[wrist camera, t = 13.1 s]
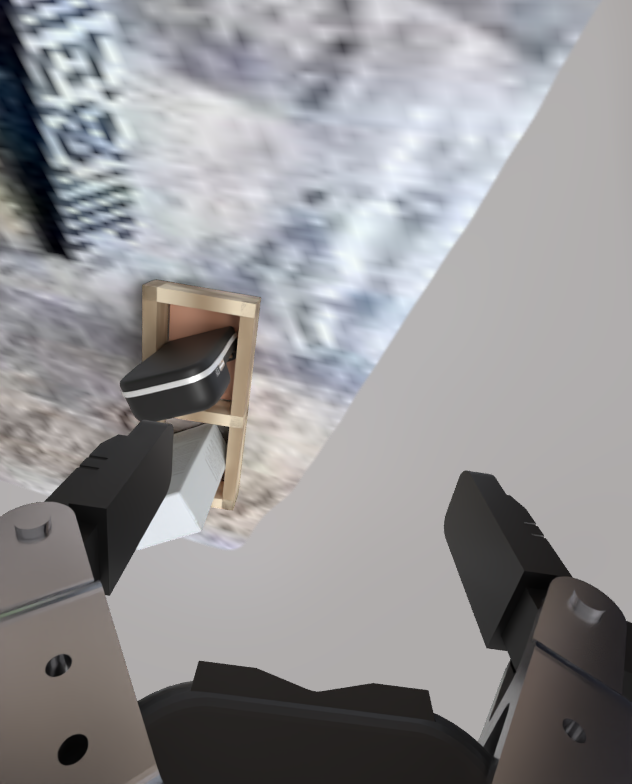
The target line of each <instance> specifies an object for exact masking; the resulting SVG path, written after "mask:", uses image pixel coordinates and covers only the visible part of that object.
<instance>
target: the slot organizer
mask: <svg viewBox="0 0 632 784" xmlns="http://www.w3.org/2000/svg"><path fill="white" fill-rule="evenodd" d="M260 302H261V297H255V296H249V295H243V294H237V293H232V292H226V291H220V290H214V289H208V288H202V287H197V286H191V285H185V284H179V283H173V282H168V281H162V280H153V281H151V282H148V283H146V284H143V285H142V362H143V361H144V360H146V359H147V358H148V357H150V356H151V355H152V354H154V353H155V352H156V351H158V350H159V349H160V348H161V347H162V346H164V345H165V344H166V343H167V342H168V316H169V304H170V320H169V341H172V340H176V339H180V338H184V337H188V336H192V335H196V334H200V333H204V332H208V331H212V330H216V329H220V328H224V327H228V326H232V327H233V328H234V330H235V332H236V333H237V339H238V344H237V354H236V359H234V360H232V361H229V362H227V367H228V370H229V374H230V384H229V385H228V387H227V389H226V391H225V393H224V394H223V396H222V397H221V398H220V399H226V400H232V401H226V400H219V401H218V402H217V403H216V404H215V405H214V406H212V407H211V408H209V409H207V410H204V411H200V412H196V413H192V414H188V415H184V416H179V417H175V418H177V419H183V420H190V421H196V422H202V423H209V424H215V425H222V426H228V427H229V436H228V447H227V457H226V467H225V477H224V481H220V483H219V486H218V489H217V491H216V494H215V496H214V499H213V502H212V504H211V507H213V508H219V509H226V510H233V509H234V506H235V502H236V499H237V496H238V493H239V484H240V475H241V467H242V458H243V449H244V441H245V432H246V423H247V414H248V406H249V397H250V388H251V380H252V371H253V362H254V354H255V345H256V336H257V328H258V319H259V310H260ZM157 422H162V423H165V420H161V421H157Z"/></svg>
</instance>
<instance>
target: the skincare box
mask: <svg viewBox="0 0 632 784" xmlns="http://www.w3.org/2000/svg"><path fill="white" fill-rule="evenodd" d="M227 447H228V446H227V444H226V442H225V440H224V438H223V436H222V434H221V432H220V430H219V428H218V426H217V425H215V424H209V423H206V424H203V425H200V426H197V427H194V428H191V429H188V430H185V431H182V432H179V433H176V434H173V459H172V477H171V482H170V486H169V489H168V492H167V494H166V496H165V498H164V500H163V502H162V504H161V505H160V507H159V509H158V511H157V513H156V514H155V516H154V518H153V520H152V521H151V523H150V525H149V527H148V529H147V530H146V532H145V534H144V536H143V537H142V539H141V541H140V543H139V545H138V546H137V548H136V549H137V550H141V549H144V548H147V547H151V546H154V545H157V544H161V543H164V542H167V541H171V540H174V539H177V538H181V537H184V536H188V535H191V534H194V533H198V532H201V531H202V528H203V526H204V523H205V520H206V518H207V515H208V512H209V510H210V507H211V504H212V502H213V499H214V496H215V494H216V491H217V489H218V486H219V483H220V481H221V478H222V475H223V473H224V470H225V467H226V457H227Z"/></svg>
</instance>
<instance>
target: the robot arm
mask: <svg viewBox="0 0 632 784" xmlns="http://www.w3.org/2000/svg"><path fill="white" fill-rule="evenodd" d="M172 459H173V426H172V424H168V423H162V422H155V421H149V420H142V421H141V422H140V423H139V424H138V425H137V426H136V427H135V429H134V430H133V431H132V432H131V433H130V434H129V435H128V436H124V435H117V436H115V437H113V438H111V439H109V440H107V441H105V442H103V443H101V444H100V445H99V446H98V447H97V448H96V449H95V450H94V451H93V452H92V453H91V454H90V455H89V458H86V459H85V460H84V461H83V462H82V463H81V464H80V467H79V468H76V470H75V471H74V472H73V473H72V474H71V475H70V476H69V477H68V478H67V479H66V480H65V481H64V482H63V483H62V484H61V485H60V486H59V487H58V488H57V489H56V490H55V491H54V492H53V493H52V494H51V495H50V496H49V497H48V498H47V499H46V500H45V501H44V502H36V503H31V504H27V505H23V506H20V507H18V508H15V509H13V510H11V511H8V512H7V513H5V514H3V515H2V516H1V517H0V784H632V623H630V622H628V621H626V619H625V616H624V615H623V613H622V611H621V610H620V609H619V607H618V606H617V605H616V604H615V602H613V601H612V600H611V599H610V598H609V597H608V596H607V595H605V594H604V593H603V592H602V591H600V590H599V589H597V588H596V587H594V586H592V585H591V584H588V583H586V582H584V581H582V580H579V579H576V578H573V577H572V576H571V574H570V573H569V571H568V570H567V568H566V567H565V565H564V564H563V563H562V561H561V560H560V558H559V557H558V555H557V554H556V552H555V551H554V549H553V548H552V547H551V545H550V543H549V542H548V541H547V539H546V538H544V535H543V533H542V532H541V530H540V529H539V527H538V526H536V523H535V522H534V520H533V519H532V517H531V516H530V514H529V513H528V511H527V510H526V509H525V508H524V507H523V506H522V505H520V503H518V502H517V501H516V500H515V499H514V498H513V497H511V496H510V495H506V493H505V492H504V490H503V489H502V487H501V486H500V484H499V483H498V481H497V479H496V478H495V477H494V476H493V475H490V474H484V473H478V472H471V471H463V472H462V474H461V475H460V477H459V480H458V482H457V485H456V488H455V491H454V493H453V496H452V499H451V502H450V504H449V507H448V510H447V513H446V516H445V521H444V533H445V538H446V540H447V543H448V546H449V549H450V551H451V554H452V556H453V559H454V562H455V565H456V567H457V570H458V573H459V576H460V578H461V581H462V583H463V586H464V589H465V592H466V594H467V597H468V600H469V602H470V605H471V608H472V610H473V613H474V616H475V618H476V621H477V624H478V626H479V629H480V632H481V634H482V637H483V640H484V643H485V645H486V648H489V649H496V650H504V651H508V653H509V656H510V658H511V659H510V661H509V663H508V665H507V667H506V669H505V671H504V674H503V677H502V679H501V682H500V685H499V687H498V690H497V693H496V696H495V698H494V701H493V704H492V706H491V709H490V712H489V714H488V717H487V720H486V722H485V725H484V728H483V730H482V733H481V735H480V738H479V740H478V742H477V741H476V740H475V739H474V738H473V737H471V736H470V735H469V734H468V733H467V732H465V731H464V730H462V729H461V728H459V727H458V726H457V725H455V724H454V723H452V722H450V721H448V720H447V719H445V718H443V717H441V716H440V715H437V714H435V713H433V710H432V705H431V701H430V696H429V691H428V690H422V689H413V688H406V687H398V686H391V685H383V684H375V683H372V684H365V685H359V686H352V687H346V688H340V689H333V690H327V691H321V692H316V691H311V690H308V689H305V688H303V687H300V686H298V685H296V684H293V683H291V682H289V681H286V680H284V679H281V678H279V677H277V676H274V675H271V674H269V673H267V672H265V671H262V670H260V669H257V668H251V667H243V666H236V665H228V664H220V663H213V662H204V661H199V662H198V666H197V669H196V673H195V676H194V680H193V681H190V682H184V683H180V684H176V685H173V686H169V687H166V688H164V689H161V690H159V691H156V692H154V693H152V694H150V695H148V696H146V697H144V698H143V699H141V700H139V701H137V699H136V696H135V692H134V689H133V686H132V682H131V680H130V676H129V673H128V669H127V666H126V663H125V659H124V656H123V653H122V650H121V646H120V643H119V640H118V636H117V633H116V630H115V626H114V623H113V620H112V616H111V613H110V610H109V607H108V603H107V600H106V597H105V595H110V594H111V593H112V591H113V589H114V587H115V585H116V584H117V582H118V580H119V578H120V577H121V575H122V573H123V571H124V569H125V568H126V566H127V564H128V562H129V560H130V559H131V557H132V555H133V553H134V552H135V550H136V548H137V546H138V545H139V543H140V541H141V539H142V537H143V536H144V534H145V532H146V530H147V529H148V527H149V525H150V523H151V521H152V520H153V518H154V516H155V514H156V513H157V511H158V509H159V507H160V505H161V504H162V502H163V500H164V498H165V496H166V494H167V492H168V489H169V486H170V482H171V477H172Z"/></svg>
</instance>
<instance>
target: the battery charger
mask: <svg viewBox="0 0 632 784" xmlns="http://www.w3.org/2000/svg"><path fill="white" fill-rule="evenodd" d="M237 344H238V339H237V333H236V332H235V330H234V328H233V327H232V326H228V327H224V328H220V329H216V330H212V331H208V332H204V333H200V334H196V335H192V336H188V337H184V338H180V339H176V340H172V341H169V342H167V343H166V344H165V345H164V346H162V347H161V348H160V349H159V350H158V351H156V352H155V353H154V354H152V355H151V356H150V357H148V358H147V359H146V360H144V361H143V362H142V363H140V364H139V365H138V366H137V367H135V368H134V369H133V370H132V371H131V372H129V373H128V374H127V375H126V376H125V377H124V378H123V379H122V380H121V381H120V387H121V393H122V395H123V397H125V398H126V400H127V402H128V404H129V406H130V409H131V411H132V413H133V414H134V416H135V418H137V419H138V420H139V421H142V420H149V421H155V422H157V421H161V420H166V419H170V418H175V417H179V416H184V415H188V414H192V413H196V412H200V411H204V410H207V409H209V408H211V407H212V406H214V405H215V404H216V403H217V402H218V401H219V400H220V398H221V397H222V396H223V394H224V393H225V391H226V389H227V387H228V385H229V384H230V374H229V370H228V367H227V362H229V361H232V360H234V359H236V354H237Z"/></svg>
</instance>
